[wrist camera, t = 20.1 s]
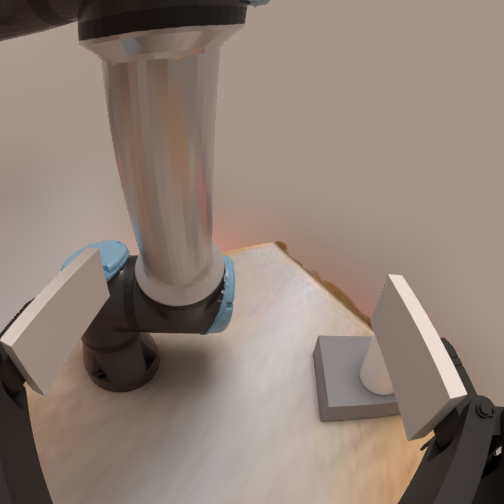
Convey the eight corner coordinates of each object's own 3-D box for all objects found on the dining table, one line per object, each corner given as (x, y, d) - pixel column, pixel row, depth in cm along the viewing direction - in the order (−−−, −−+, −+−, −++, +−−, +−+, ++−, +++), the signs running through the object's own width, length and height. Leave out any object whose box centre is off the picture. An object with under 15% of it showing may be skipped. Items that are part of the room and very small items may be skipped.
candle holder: (411, 372, 41) (440, 323, 35) (392, 408, 35) (427, 360, 29) (369, 349, 47) (391, 298, 41) (344, 381, 40) (368, 329, 35)
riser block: (320, 421, 38) (328, 406, 36) (313, 352, 53) (318, 335, 50) (403, 413, 38) (415, 398, 36) (383, 352, 52) (392, 336, 50)
